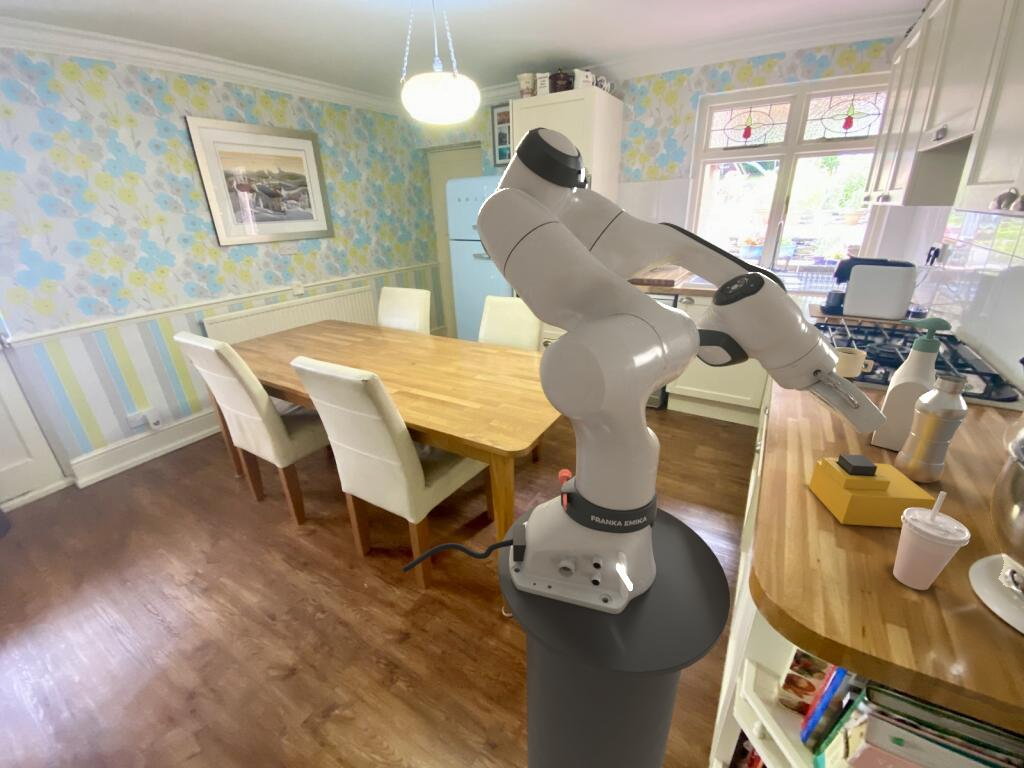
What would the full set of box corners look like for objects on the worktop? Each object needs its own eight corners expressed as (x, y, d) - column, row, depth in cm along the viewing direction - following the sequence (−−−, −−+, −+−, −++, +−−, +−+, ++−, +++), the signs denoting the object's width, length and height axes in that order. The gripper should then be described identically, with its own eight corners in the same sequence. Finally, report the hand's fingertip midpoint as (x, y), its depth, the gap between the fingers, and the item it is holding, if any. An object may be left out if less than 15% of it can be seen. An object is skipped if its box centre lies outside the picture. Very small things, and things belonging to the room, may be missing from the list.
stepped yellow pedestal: (839, 524, 68) (853, 485, 65) (807, 487, 77) (817, 451, 74) (923, 529, 66) (940, 489, 63) (879, 490, 75) (893, 455, 73)
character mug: (860, 395, 114) (874, 350, 109) (862, 405, 108) (878, 357, 103) (812, 388, 119) (824, 344, 114) (812, 396, 114) (824, 351, 109)
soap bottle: (865, 424, 98) (903, 309, 88) (911, 435, 93) (958, 314, 83) (860, 442, 91) (901, 319, 81) (910, 455, 86) (961, 325, 76)
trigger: (849, 476, 68) (853, 465, 67) (836, 464, 71) (839, 453, 70) (873, 477, 67) (877, 466, 67) (859, 465, 71) (862, 454, 70)
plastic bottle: (942, 491, 75) (987, 389, 67) (893, 480, 78) (931, 381, 71) (932, 473, 80) (974, 376, 72) (887, 464, 83) (922, 370, 76)
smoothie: (904, 557, 61) (939, 477, 56) (956, 593, 55) (1000, 507, 50) (868, 565, 60) (901, 484, 54) (917, 603, 54) (959, 515, 49)
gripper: (864, 370, 52) (925, 442, 55) (788, 330, 71) (835, 384, 73) (817, 402, 55) (878, 469, 57) (755, 354, 73) (802, 407, 76)
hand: (853, 421), depth 65 cm, fingers closed
